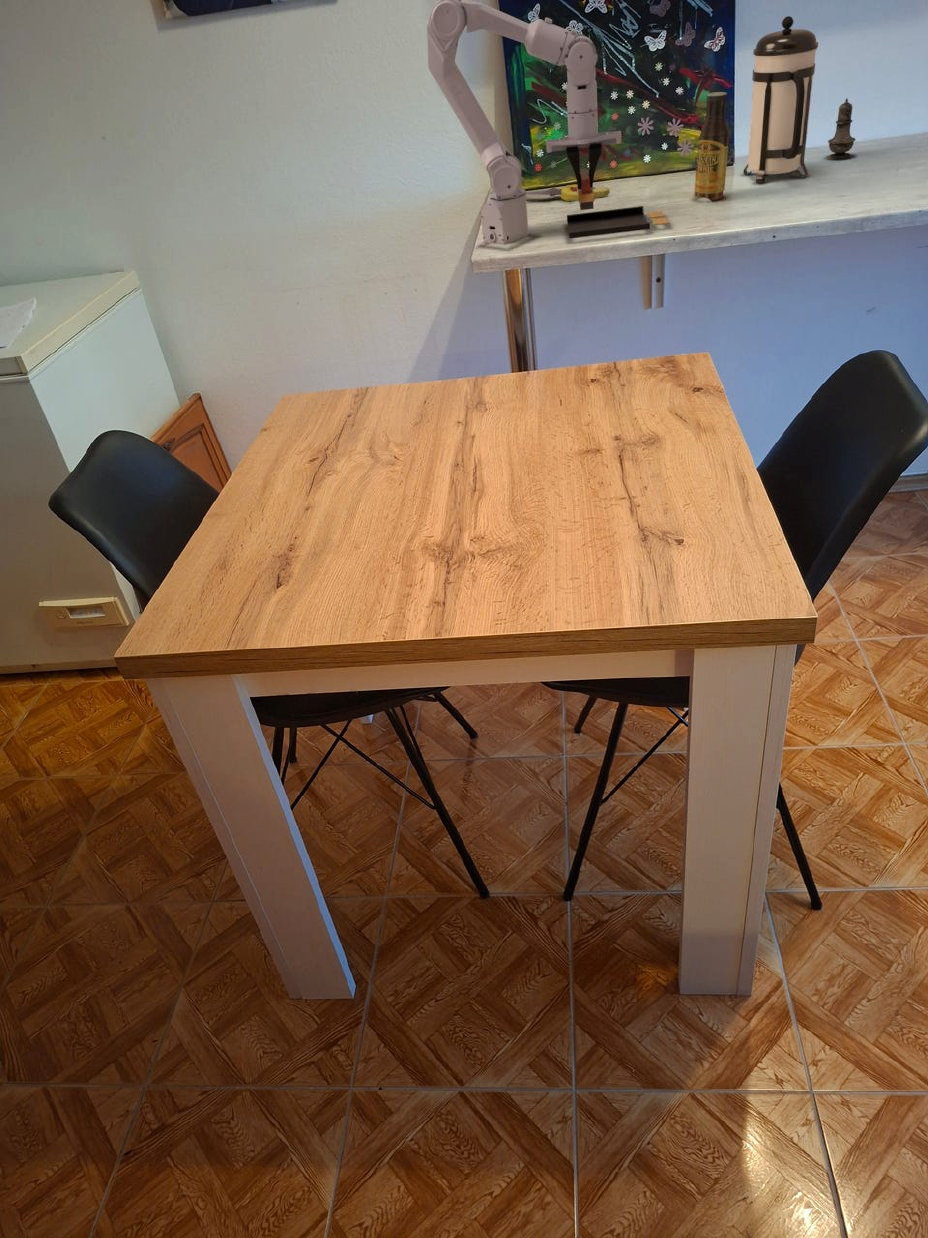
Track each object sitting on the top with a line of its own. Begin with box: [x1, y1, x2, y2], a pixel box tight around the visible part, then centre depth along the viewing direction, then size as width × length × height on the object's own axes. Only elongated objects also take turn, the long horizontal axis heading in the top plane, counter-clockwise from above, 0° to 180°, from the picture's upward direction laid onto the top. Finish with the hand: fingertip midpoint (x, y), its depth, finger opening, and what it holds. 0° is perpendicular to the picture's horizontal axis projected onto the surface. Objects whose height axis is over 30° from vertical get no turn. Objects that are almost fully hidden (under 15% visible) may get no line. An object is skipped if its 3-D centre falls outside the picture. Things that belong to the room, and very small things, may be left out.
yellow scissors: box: [525, 183, 611, 202], centre depth 205 cm, size 8×3×25 cm
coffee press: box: [742, 15, 819, 185], centre depth 187 cm, size 17×16×30 cm
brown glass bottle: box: [694, 91, 730, 202], centre depth 183 cm, size 6×6×20 cm
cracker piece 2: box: [651, 216, 670, 226], centre depth 177 cm, size 3×4×1 cm
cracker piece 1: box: [647, 210, 665, 219], centre depth 181 cm, size 3×4×1 cm
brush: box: [577, 170, 595, 211], centre depth 176 cm, size 3×10×5 cm, turn 177°
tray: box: [566, 205, 651, 239], centre depth 180 cm, size 16×14×2 cm
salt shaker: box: [827, 97, 856, 161], centre depth 199 cm, size 6×6×12 cm
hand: (585, 187), depth 176 cm, fingers closed on brush, 2 cm apart
